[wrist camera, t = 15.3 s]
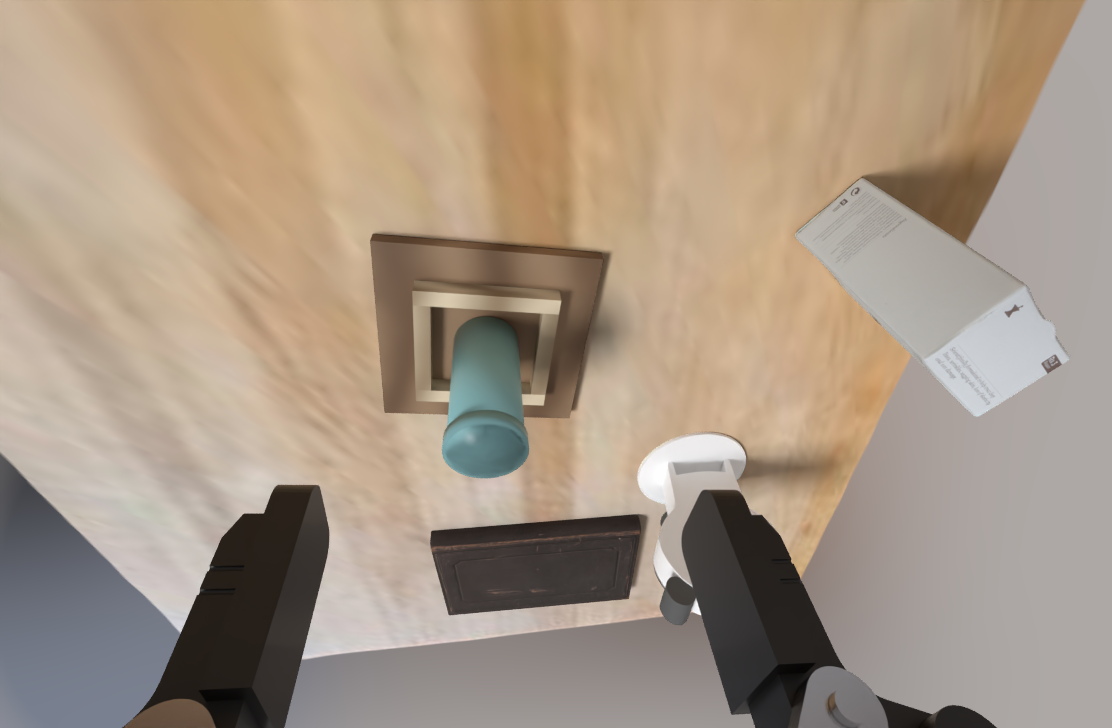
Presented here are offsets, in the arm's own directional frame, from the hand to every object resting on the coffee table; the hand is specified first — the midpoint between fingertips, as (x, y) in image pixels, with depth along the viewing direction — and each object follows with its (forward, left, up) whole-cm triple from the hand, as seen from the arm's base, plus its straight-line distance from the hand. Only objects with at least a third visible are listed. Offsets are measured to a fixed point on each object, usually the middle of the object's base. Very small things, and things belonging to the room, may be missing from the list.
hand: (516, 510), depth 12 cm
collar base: (0, -16, -28) cm, 32 cm away
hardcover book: (+8, -49, -29) cm, 58 cm away
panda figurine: (+22, -32, -28) cm, 48 cm away
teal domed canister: (0, -16, -27) cm, 31 cm away
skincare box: (+27, -5, -28) cm, 39 cm away
